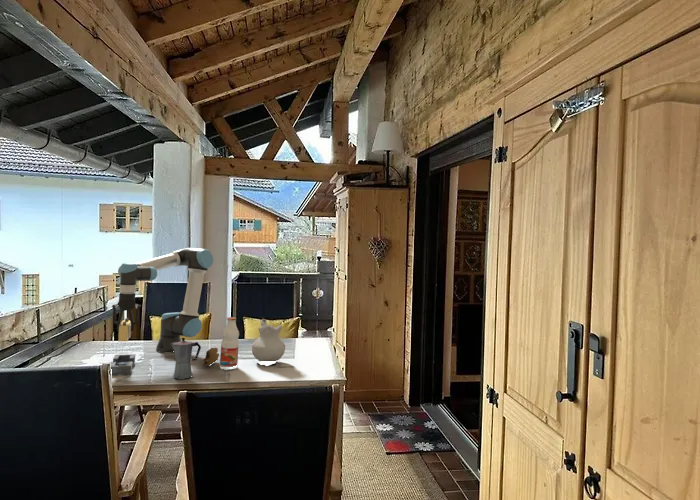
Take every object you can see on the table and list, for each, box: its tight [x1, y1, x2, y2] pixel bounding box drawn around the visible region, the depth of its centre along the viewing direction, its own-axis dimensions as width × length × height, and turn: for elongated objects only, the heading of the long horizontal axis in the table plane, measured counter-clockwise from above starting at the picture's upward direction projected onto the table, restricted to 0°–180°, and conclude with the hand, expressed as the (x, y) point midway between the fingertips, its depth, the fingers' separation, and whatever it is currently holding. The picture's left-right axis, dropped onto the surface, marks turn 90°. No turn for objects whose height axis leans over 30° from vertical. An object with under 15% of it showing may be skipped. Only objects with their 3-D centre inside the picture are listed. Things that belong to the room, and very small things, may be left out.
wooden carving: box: [202, 347, 220, 367], centre depth 244 cm, size 16×5×10 cm, turn 178°
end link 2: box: [109, 361, 133, 377], centre depth 221 cm, size 8×10×4 cm
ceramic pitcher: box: [251, 318, 286, 361], centre depth 257 cm, size 22×20×25 cm
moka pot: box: [170, 337, 202, 380], centre depth 221 cm, size 10×15×20 cm, turn 95°
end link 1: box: [112, 353, 136, 367], centre depth 235 cm, size 8×10×4 cm
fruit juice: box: [219, 316, 240, 367], centre depth 242 cm, size 9×9×28 cm
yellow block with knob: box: [117, 317, 131, 343], centre depth 228 cm, size 15×4×10 cm, turn 21°
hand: (124, 337), depth 228 cm, fingers closed on yellow block with knob, 4 cm apart
